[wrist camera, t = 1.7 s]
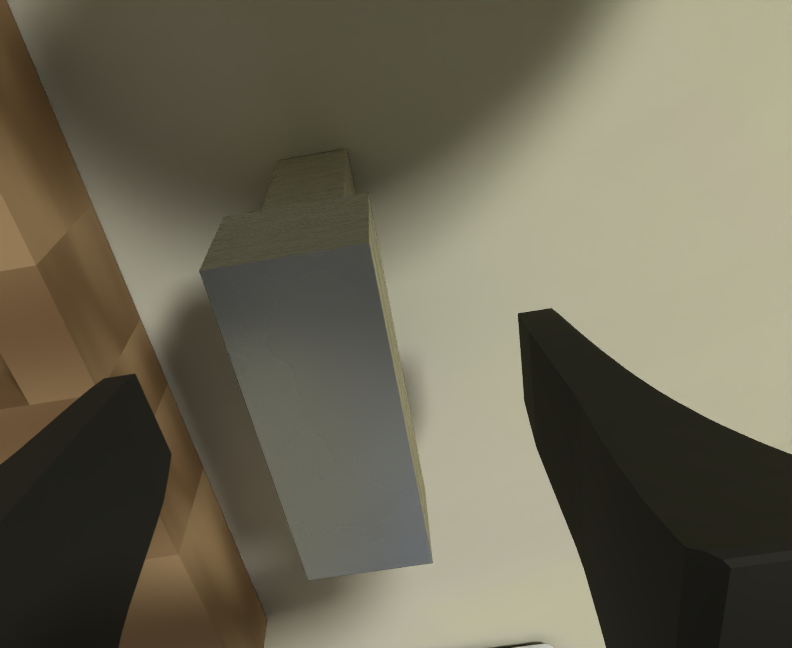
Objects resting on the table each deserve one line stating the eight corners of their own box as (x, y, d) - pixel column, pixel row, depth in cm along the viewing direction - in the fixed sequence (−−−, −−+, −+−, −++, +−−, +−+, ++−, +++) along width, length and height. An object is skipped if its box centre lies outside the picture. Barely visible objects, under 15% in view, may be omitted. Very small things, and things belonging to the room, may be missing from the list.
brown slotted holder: (267, 619, 23) (254, 709, 20) (94, 643, 23) (61, 734, 21) (-72, -187, 11) (-200, -215, 9) (-407, -120, 12) (-623, -127, 9)
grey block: (414, 392, 18) (432, 563, 13) (322, 406, 18) (308, 580, 14) (367, 133, 14) (368, 242, 10) (252, 153, 15) (199, 270, 10)
